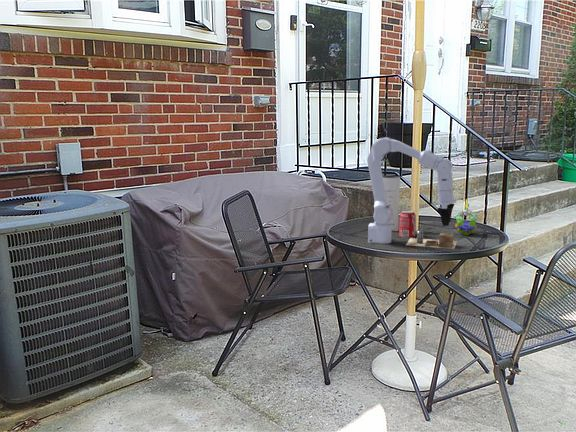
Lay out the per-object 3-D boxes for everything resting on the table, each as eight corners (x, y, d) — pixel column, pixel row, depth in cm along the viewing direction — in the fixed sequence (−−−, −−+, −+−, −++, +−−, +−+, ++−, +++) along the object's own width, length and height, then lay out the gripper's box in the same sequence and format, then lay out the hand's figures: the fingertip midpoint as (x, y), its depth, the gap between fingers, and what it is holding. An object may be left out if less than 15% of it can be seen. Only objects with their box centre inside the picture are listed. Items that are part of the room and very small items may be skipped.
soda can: (412, 236, 230) (413, 209, 228) (417, 239, 223) (418, 212, 221) (397, 236, 230) (397, 210, 228) (401, 240, 223) (401, 212, 221)
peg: (416, 243, 212) (416, 231, 212) (417, 242, 215) (417, 230, 214) (422, 243, 212) (422, 231, 211) (423, 242, 214) (423, 230, 213)
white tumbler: (397, 228, 246) (398, 174, 242) (400, 233, 236) (401, 176, 231) (375, 228, 247) (375, 174, 243) (376, 233, 237) (377, 176, 232)
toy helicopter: (455, 229, 243) (456, 198, 241) (475, 230, 241) (477, 199, 238) (454, 241, 220) (455, 207, 217) (476, 242, 217) (478, 208, 215)
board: (405, 247, 210) (405, 237, 209) (410, 240, 222) (410, 231, 222) (454, 251, 203) (454, 241, 202) (456, 243, 216) (457, 233, 215)
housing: (438, 246, 206) (439, 235, 205) (440, 244, 211) (440, 232, 210) (452, 247, 204) (452, 236, 203) (453, 244, 209) (453, 233, 208)
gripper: (454, 191, 196) (455, 227, 198) (457, 187, 209) (458, 220, 211) (435, 192, 198) (436, 227, 200) (439, 187, 211) (440, 220, 214)
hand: (446, 223), depth 206 cm, fingers open, 7 cm apart
